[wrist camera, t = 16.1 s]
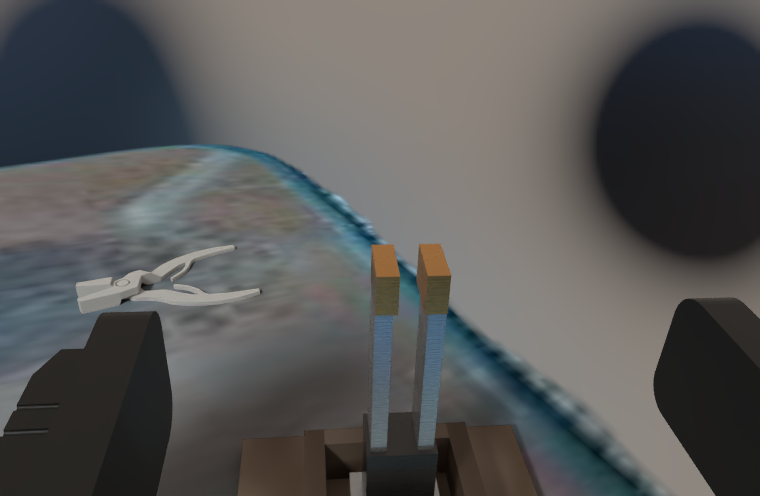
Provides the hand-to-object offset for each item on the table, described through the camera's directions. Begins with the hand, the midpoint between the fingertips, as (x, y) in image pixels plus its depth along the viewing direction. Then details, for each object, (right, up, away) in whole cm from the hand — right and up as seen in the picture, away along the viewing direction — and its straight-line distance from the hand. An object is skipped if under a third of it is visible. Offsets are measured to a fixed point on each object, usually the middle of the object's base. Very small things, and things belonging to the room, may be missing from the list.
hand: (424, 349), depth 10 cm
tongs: (0, -14, +27) cm, 31 cm away
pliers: (-20, -2, +50) cm, 55 cm away
